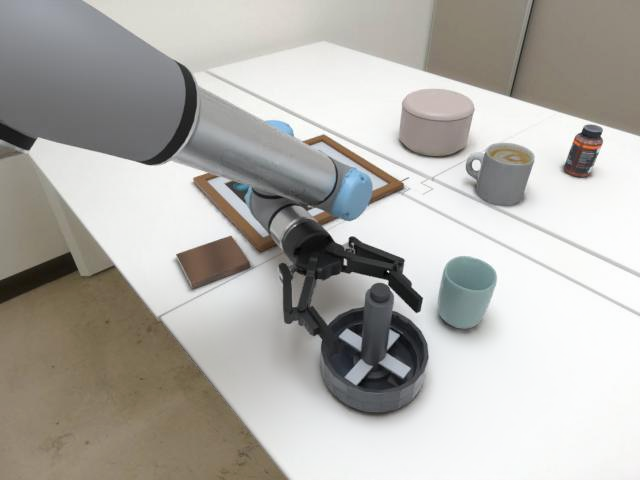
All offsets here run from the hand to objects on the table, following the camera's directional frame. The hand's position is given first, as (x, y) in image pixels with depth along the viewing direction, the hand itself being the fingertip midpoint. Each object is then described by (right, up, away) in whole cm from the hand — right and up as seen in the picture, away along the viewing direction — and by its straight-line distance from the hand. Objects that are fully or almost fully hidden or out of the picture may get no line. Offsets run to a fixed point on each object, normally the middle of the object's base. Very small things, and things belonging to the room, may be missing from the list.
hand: (379, 325), depth 60 cm
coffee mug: (+31, +22, +44) cm, 58 cm away
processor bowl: (0, -8, +7) cm, 10 cm away
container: (+22, +37, +62) cm, 76 cm away
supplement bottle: (+54, +28, +50) cm, 79 cm away
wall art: (-13, +24, +46) cm, 53 cm away
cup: (+15, -2, +15) cm, 21 cm away
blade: (0, -7, +6) cm, 9 cm away
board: (-28, +7, +25) cm, 38 cm away
